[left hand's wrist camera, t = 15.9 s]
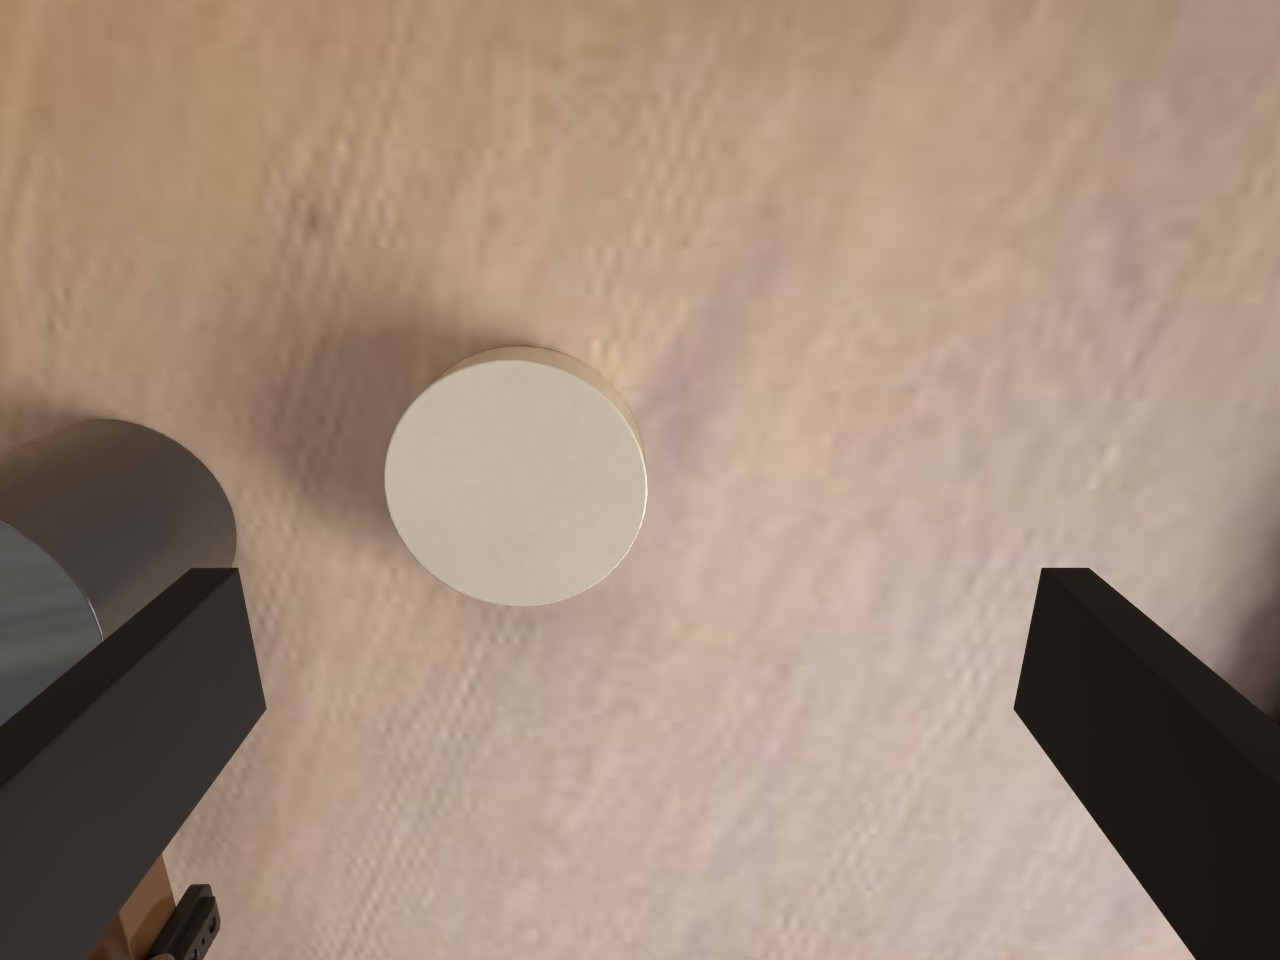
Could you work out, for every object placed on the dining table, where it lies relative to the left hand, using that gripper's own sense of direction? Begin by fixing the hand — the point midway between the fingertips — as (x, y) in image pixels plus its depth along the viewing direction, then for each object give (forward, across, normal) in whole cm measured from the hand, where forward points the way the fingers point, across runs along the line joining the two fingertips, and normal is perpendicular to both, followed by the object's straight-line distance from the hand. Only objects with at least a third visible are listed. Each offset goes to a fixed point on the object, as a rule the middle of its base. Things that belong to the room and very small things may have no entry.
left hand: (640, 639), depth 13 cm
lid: (+19, -5, -4) cm, 20 cm away
